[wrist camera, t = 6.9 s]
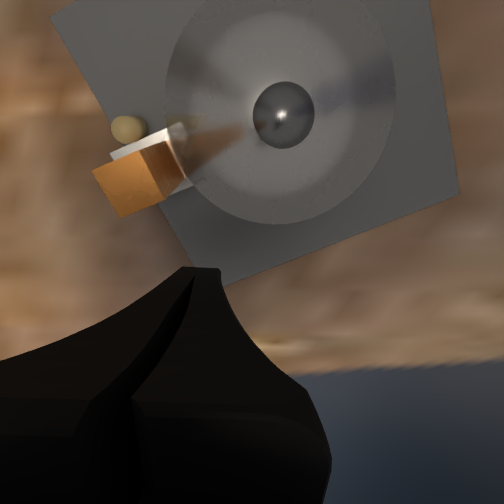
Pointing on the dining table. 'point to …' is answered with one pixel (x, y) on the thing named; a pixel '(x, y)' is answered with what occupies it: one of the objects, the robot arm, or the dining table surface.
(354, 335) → the dining table surface
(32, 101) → the dining table surface
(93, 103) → the dining table surface
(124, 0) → the base plate
